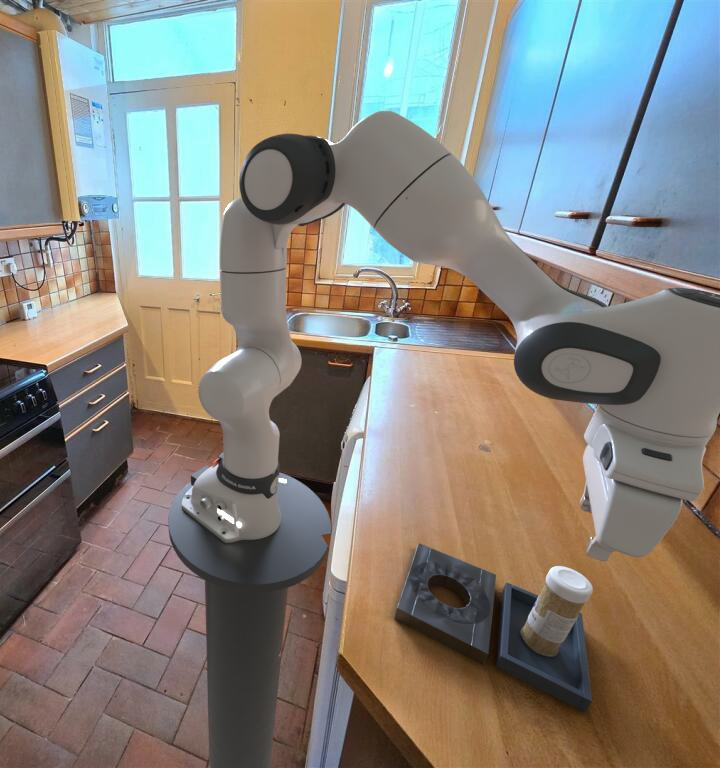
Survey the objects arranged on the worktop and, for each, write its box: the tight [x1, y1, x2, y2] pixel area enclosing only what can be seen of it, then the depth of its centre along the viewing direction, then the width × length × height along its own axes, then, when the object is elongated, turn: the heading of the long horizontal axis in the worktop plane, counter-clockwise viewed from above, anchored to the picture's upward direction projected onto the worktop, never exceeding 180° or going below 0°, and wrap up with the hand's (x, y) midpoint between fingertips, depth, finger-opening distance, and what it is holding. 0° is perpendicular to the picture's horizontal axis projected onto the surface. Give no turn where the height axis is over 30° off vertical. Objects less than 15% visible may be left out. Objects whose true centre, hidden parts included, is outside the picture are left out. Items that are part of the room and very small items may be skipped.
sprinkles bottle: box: [520, 565, 594, 657], centre depth 57 cm, size 5×5×14 cm
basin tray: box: [495, 581, 593, 713], centre depth 59 cm, size 10×15×2 cm, turn 144°
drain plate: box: [394, 542, 497, 666], centre depth 66 cm, size 12×16×2 cm
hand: (591, 530), depth 51 cm, fingers open, 8 cm apart
